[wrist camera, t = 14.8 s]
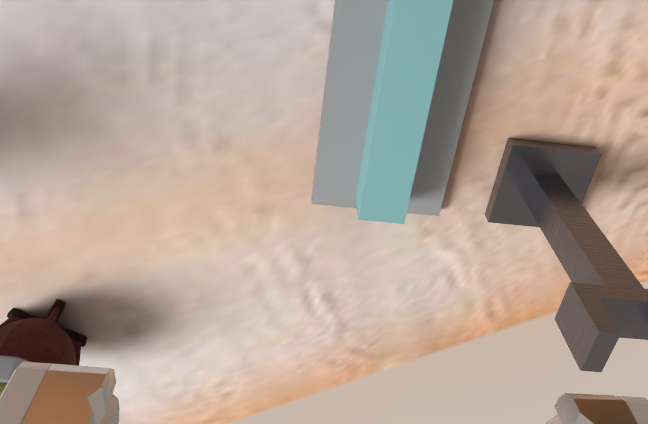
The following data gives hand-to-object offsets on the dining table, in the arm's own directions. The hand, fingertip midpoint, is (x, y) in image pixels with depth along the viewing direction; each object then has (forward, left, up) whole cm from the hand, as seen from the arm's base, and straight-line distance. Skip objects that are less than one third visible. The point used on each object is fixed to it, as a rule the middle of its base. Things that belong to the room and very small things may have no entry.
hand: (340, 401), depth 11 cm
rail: (+1, +5, -28) cm, 28 cm away
